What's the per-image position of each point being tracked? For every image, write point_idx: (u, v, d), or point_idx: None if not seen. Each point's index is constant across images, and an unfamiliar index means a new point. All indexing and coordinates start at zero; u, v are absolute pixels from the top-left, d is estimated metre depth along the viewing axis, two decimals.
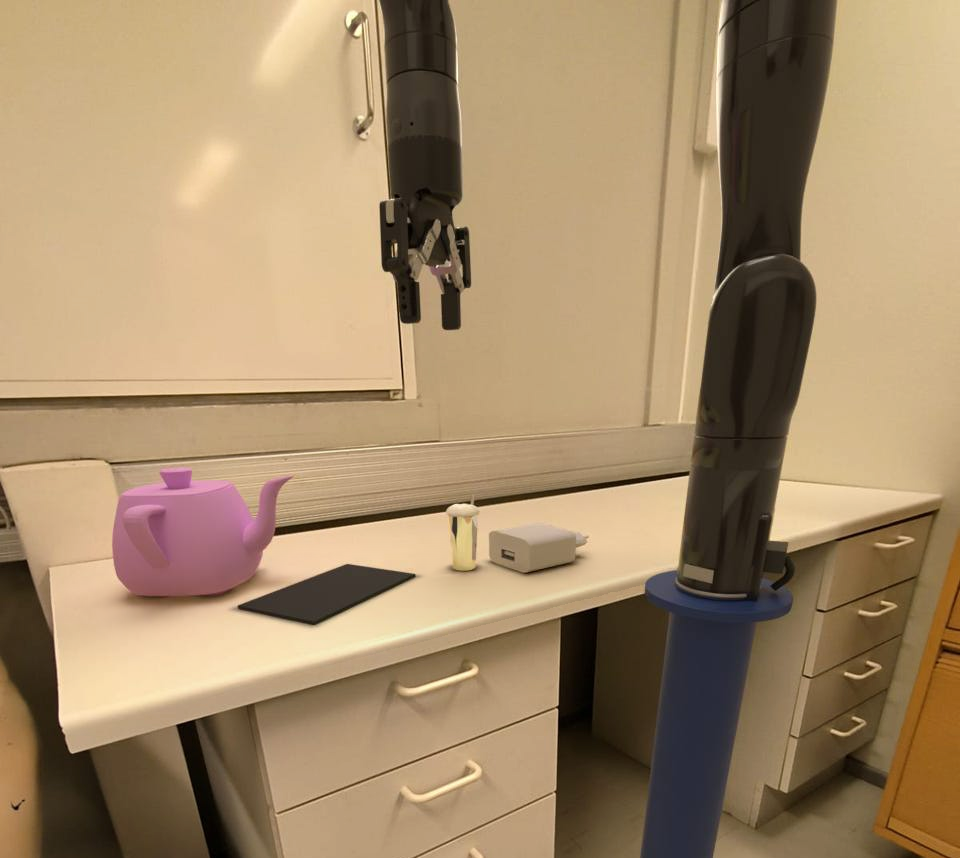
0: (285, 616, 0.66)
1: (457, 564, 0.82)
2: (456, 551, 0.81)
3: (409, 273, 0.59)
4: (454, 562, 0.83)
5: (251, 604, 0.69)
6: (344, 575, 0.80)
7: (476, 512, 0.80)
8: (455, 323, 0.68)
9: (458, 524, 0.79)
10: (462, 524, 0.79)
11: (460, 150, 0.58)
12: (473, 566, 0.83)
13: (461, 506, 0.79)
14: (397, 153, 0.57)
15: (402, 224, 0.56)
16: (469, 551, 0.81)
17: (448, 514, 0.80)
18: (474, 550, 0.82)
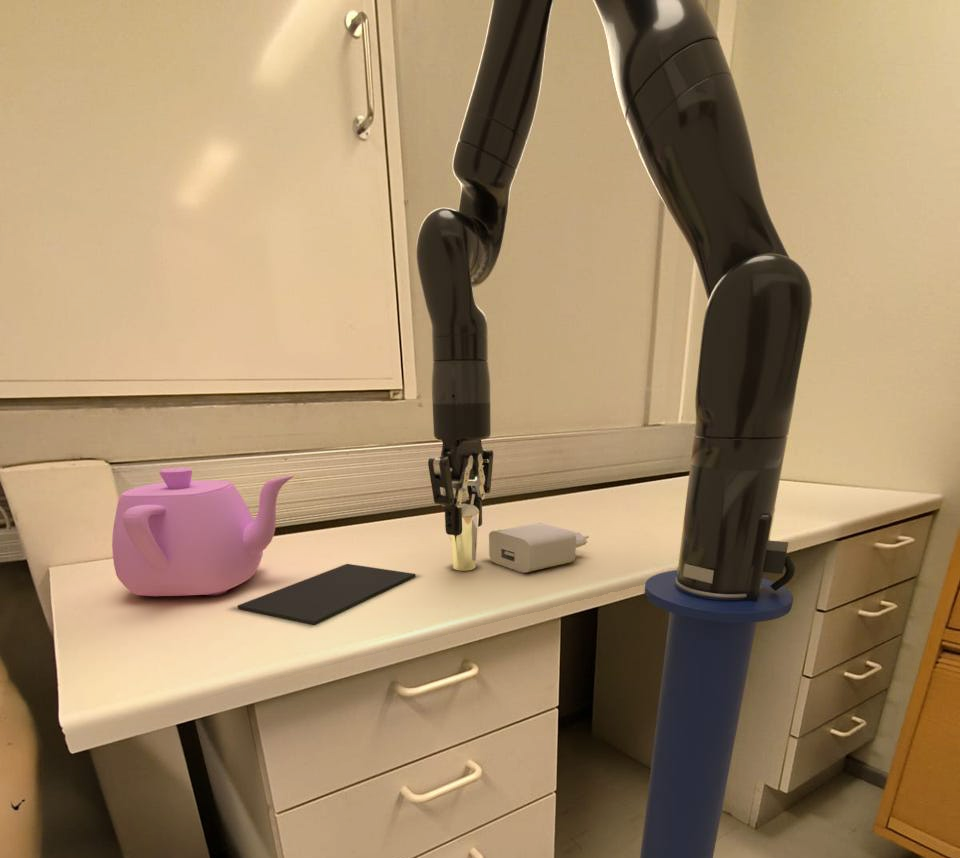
0: (285, 616, 0.66)
1: (457, 564, 0.82)
2: (456, 551, 0.81)
3: (454, 504, 0.77)
4: (454, 562, 0.83)
5: (251, 604, 0.69)
6: (344, 575, 0.80)
7: (476, 512, 0.80)
8: None
9: None
10: (462, 524, 0.79)
11: (489, 406, 0.75)
12: (473, 566, 0.83)
13: (461, 506, 0.79)
14: (441, 413, 0.73)
15: (447, 477, 0.73)
16: (469, 551, 0.81)
17: None
18: (474, 550, 0.82)
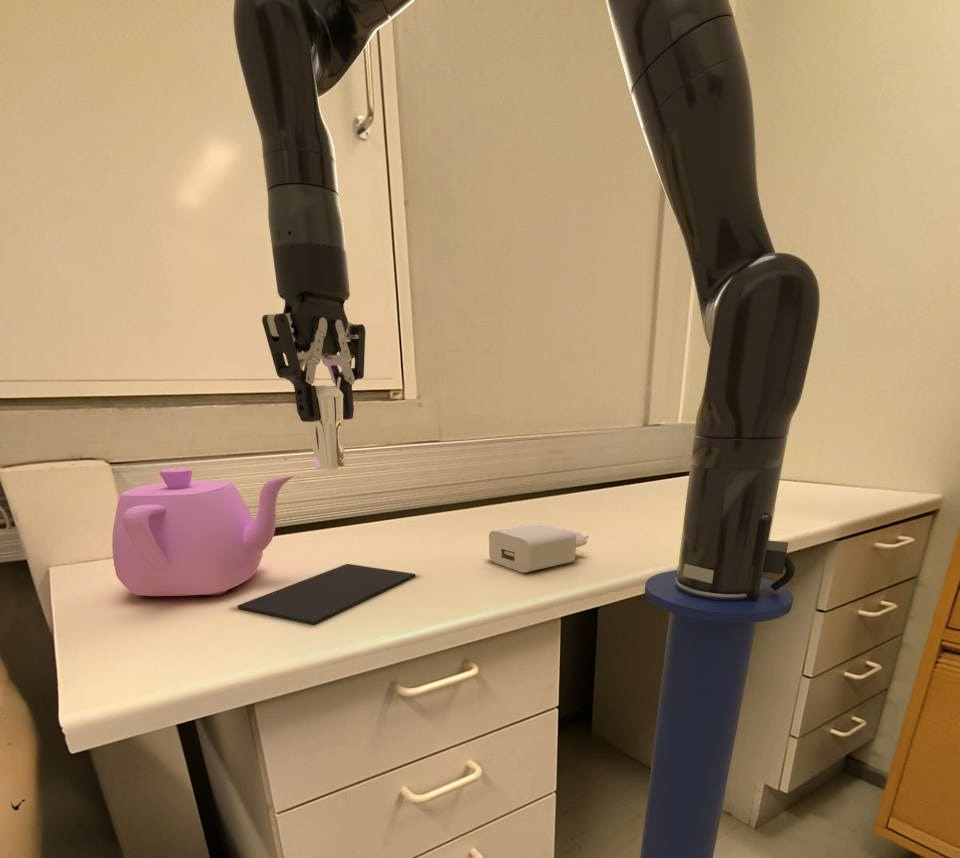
0: (285, 616, 0.66)
1: (319, 462, 0.68)
2: (316, 444, 0.67)
3: (304, 379, 0.62)
4: (316, 460, 0.68)
5: (251, 604, 0.69)
6: (344, 575, 0.80)
7: (337, 394, 0.65)
8: (347, 414, 0.69)
9: None
10: (319, 408, 0.65)
11: (342, 253, 0.60)
12: (340, 465, 0.69)
13: (318, 386, 0.65)
14: (278, 258, 0.59)
15: (287, 338, 0.59)
16: (332, 445, 0.67)
17: None
18: (339, 444, 0.68)
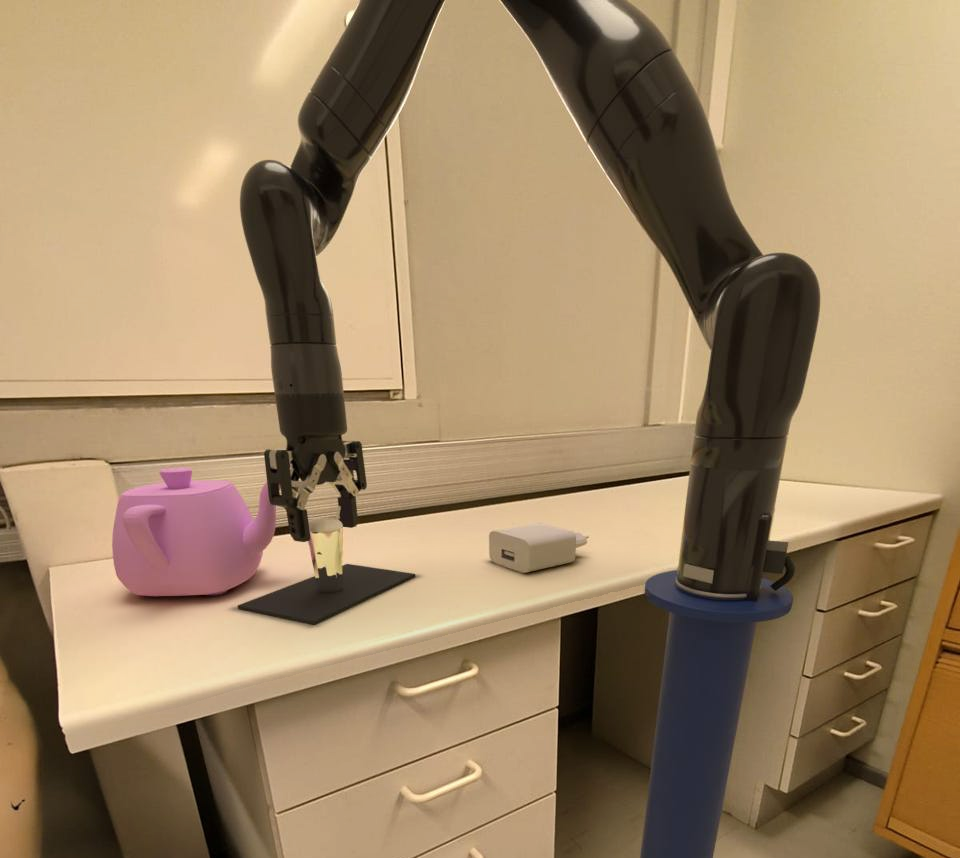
0: (285, 616, 0.66)
1: (320, 585, 0.73)
2: (317, 571, 0.72)
3: (295, 505, 0.65)
4: (317, 583, 0.73)
5: (251, 604, 0.69)
6: (344, 575, 0.80)
7: (337, 527, 0.70)
8: (351, 523, 0.74)
9: (316, 541, 0.70)
10: (320, 541, 0.70)
11: (340, 397, 0.65)
12: (340, 587, 0.73)
13: (319, 520, 0.70)
14: (281, 405, 0.63)
15: (284, 471, 0.63)
16: (332, 571, 0.72)
17: None
18: (339, 570, 0.72)
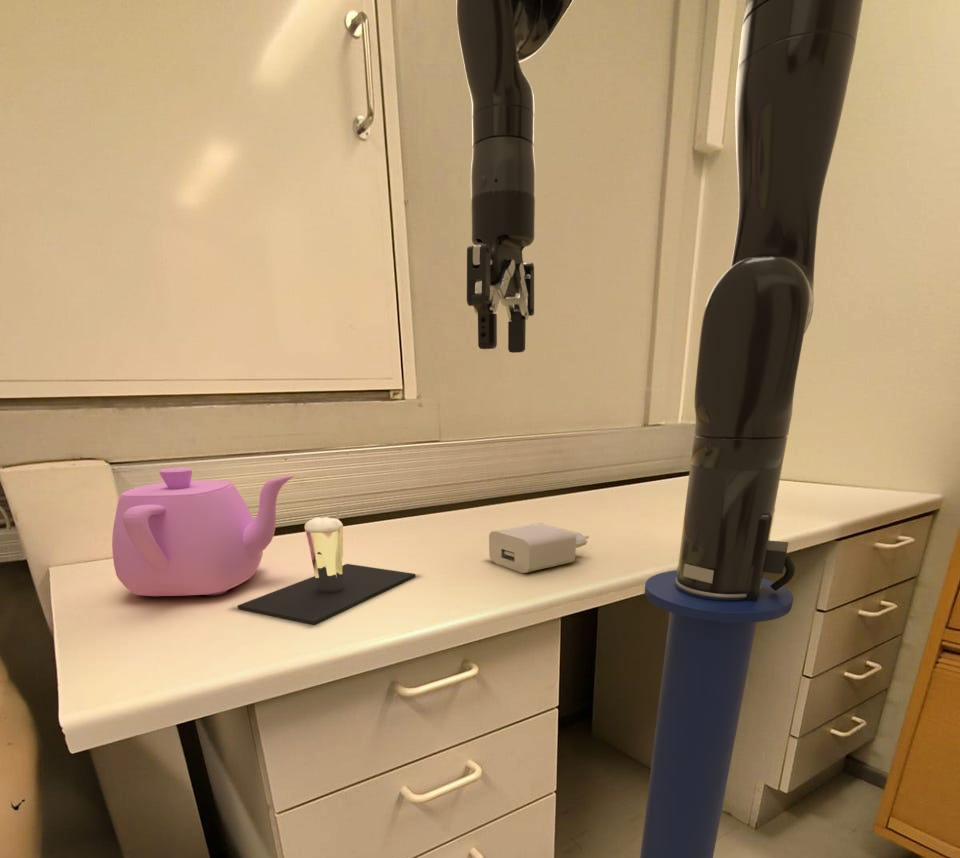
0: (285, 616, 0.66)
1: (320, 585, 0.73)
2: (317, 571, 0.72)
3: (489, 306, 0.68)
4: (317, 583, 0.73)
5: (251, 604, 0.69)
6: (344, 575, 0.80)
7: (337, 527, 0.70)
8: (520, 347, 0.77)
9: (316, 541, 0.70)
10: (320, 541, 0.70)
11: (534, 201, 0.68)
12: (340, 587, 0.73)
13: (319, 520, 0.70)
14: (481, 204, 0.66)
15: (487, 266, 0.66)
16: (332, 571, 0.72)
17: (305, 529, 0.70)
18: (339, 570, 0.72)
